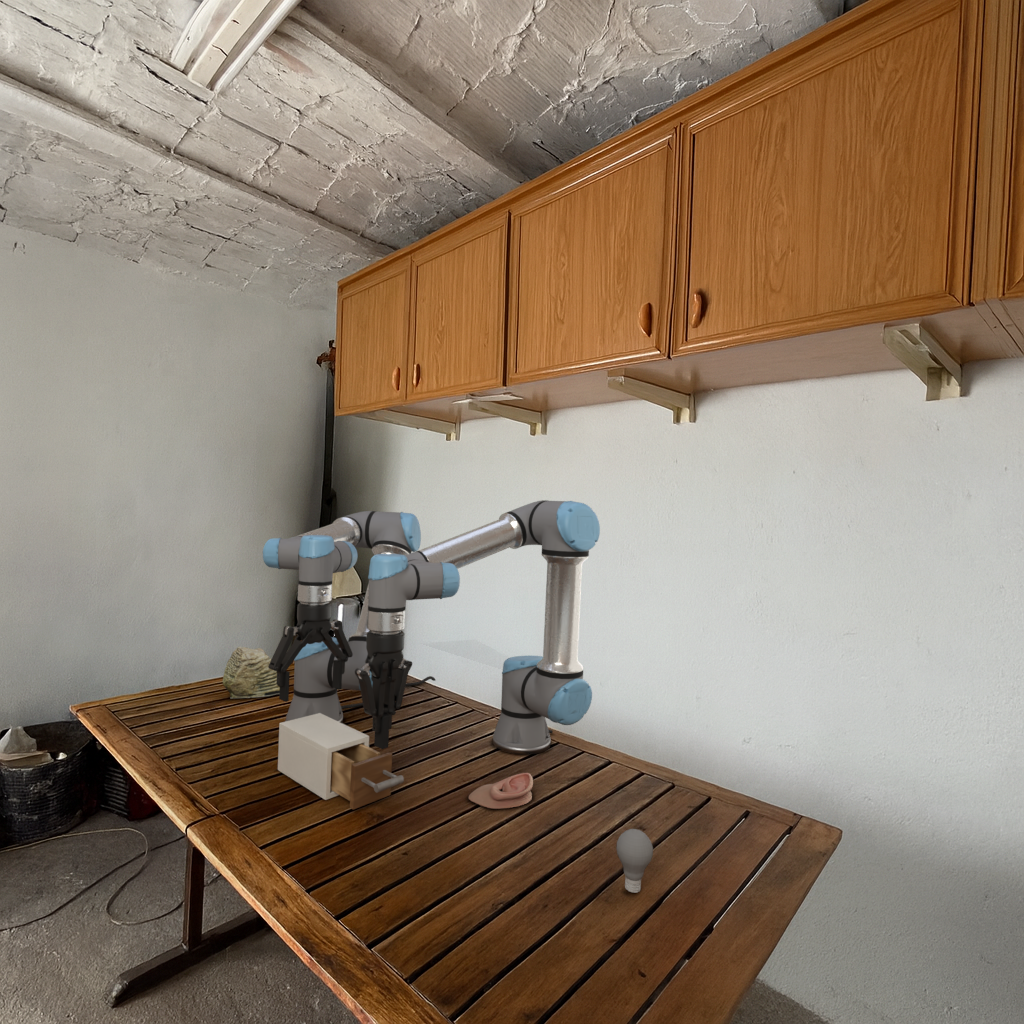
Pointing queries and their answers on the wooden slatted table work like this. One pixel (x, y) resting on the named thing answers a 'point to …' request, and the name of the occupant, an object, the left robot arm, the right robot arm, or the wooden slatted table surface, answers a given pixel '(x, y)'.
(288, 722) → the cabinet
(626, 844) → the light bulb
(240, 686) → the fossil
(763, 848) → the wooden slatted table surface
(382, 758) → the drawer
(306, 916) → the wooden slatted table surface
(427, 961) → the wooden slatted table surface
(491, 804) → the anatomical model
